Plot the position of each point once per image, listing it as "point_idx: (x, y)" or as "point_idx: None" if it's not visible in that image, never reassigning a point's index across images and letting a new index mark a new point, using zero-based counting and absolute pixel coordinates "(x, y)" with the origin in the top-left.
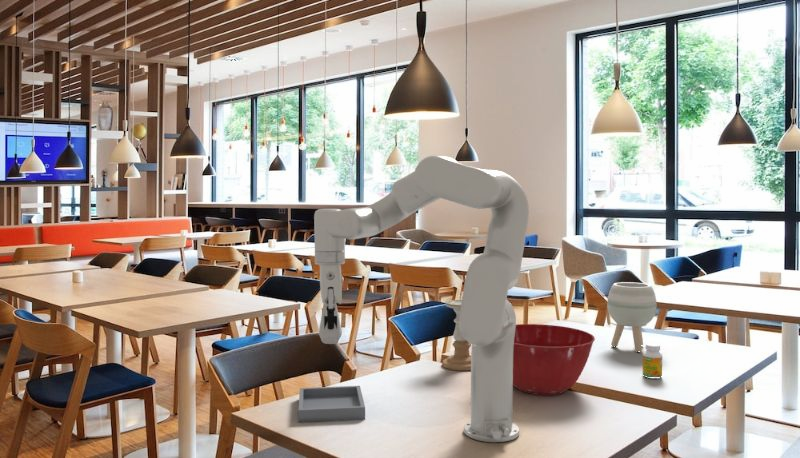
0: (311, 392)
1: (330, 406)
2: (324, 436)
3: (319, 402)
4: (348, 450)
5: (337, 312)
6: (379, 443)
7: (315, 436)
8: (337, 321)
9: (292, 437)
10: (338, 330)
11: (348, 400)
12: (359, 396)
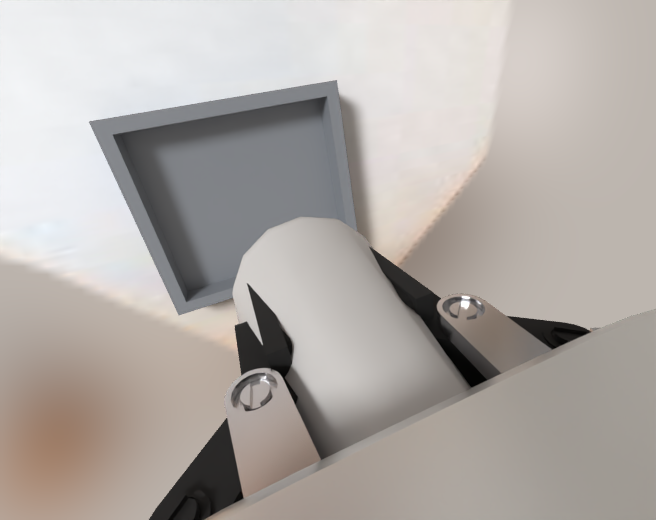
0: (178, 277)
1: (257, 198)
2: (423, 173)
3: (227, 236)
4: (490, 110)
5: (390, 321)
6: (469, 37)
7: (421, 191)
8: (381, 272)
9: (422, 233)
10: (359, 238)
11: (191, 154)
12: (233, 109)
